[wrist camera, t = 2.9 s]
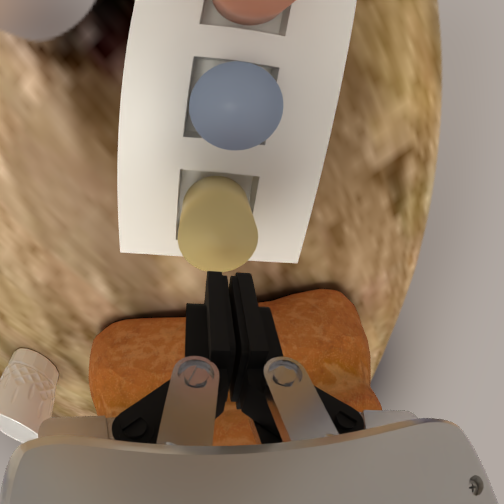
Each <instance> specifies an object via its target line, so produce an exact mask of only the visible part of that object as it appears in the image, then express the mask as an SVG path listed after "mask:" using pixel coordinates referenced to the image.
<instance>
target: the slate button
mask: <svg viewBox="0 0 504 504" xmlns="http://www.w3.org/2000/svg"><path fill="white" fill-rule="evenodd" d="M189 113H190V118H191V121H192V124H193V126H194V127H195V129H196V131H197V132H198V133H199V135H200V136H201V137H202V138H203V139H205V140H206V141H207V142H209V143H210V144H212V145H214V146H216V147H218V148H222V149H226V150H245V149H249V148H252V147H255V146H257V145H259V144H261V143H262V142H264V141H265V140H266V139H268V138H269V137H270V136H271V135H272V134H273V132H274V131H275V130H276V128H277V127H278V125H279V123H280V120H281V118H282V114H283V96H282V93H281V90H280V87H279V85H278V84H277V82H276V80H275V79H274V78H273V77H272V76H271V75H270V74H269V73H268V72H267V71H266V70H264V69H263V68H261V67H259V66H257V65H255V64H252V63H248V62H241V61H232V62H226V63H222V64H219V65H217V66H215V67H213V68H211V69H210V70H208V71H207V72H206V73H204V74H203V75H202V76H201V77H200V79H199V80H198V81H197V83H196V84H195V86H194V88H193V90H192V93H191V95H190V100H189Z"/></svg>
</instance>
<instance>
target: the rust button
mask: <svg viewBox="0 0 504 504" xmlns="http://www.w3.org/2000/svg"><path fill="white" fill-rule="evenodd" d="M212 1H213V4H214V6H215V8H216V10H217V11H218V12H219V13H220V14H221V15H222V16H223V17H224V18H226V19H228V20H229V21H231V22H234V23H237V24H241V25H259V24H263V23H266V22H268V21H270V20H272V19H274V18H275V17H276V16H277V15H278V14H280V13H281V12H282V11H283V10H285V9H286V8H287V7H288V6H290V5H291V4H292V3H293V2H295V1H296V0H212Z"/></svg>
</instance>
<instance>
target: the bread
mask: <svg viewBox="0 0 504 504" xmlns="http://www.w3.org/2000/svg"><path fill="white" fill-rule="evenodd" d="M258 306H259V307H269V308H270V309H271V313H272V316H273V320H274V323H275V327H276V331H277V334H278V338H279V342H280V345H281V349H282V352H283V356H284V357H289V358H292V359H294V360H297V361H298V362H299V363H301V364H302V365H303V367H304V368H305V370H306V371H307V373H308V375H309V377H310V379H311V381H312V383H313V385H314V386H316V387H317V388H319V389H321V390H323V391H324V392H326V393H328V394H329V395H331V396H333V397H335V398H336V399H338V400H340V401H342V402H344V403H345V404H347V405H349V406H351V407H353V408H354V409H355V410H357V411H358V412H362V411H363V410H382V407H381V405H380V402H379V401H378V398H377V397H376V395H375V394H374V392H373V391H372V389H371V388H370V351H369V346H368V340H367V337H366V335H365V332H364V330H363V327H362V325H361V321H360V318H359V315H358V313H357V310H356V308H355V306H354V304H353V303H352V302H351V301H349V300H348V299H347V298H346V297H345V296H344V295H343V294H342V293H341V292H339V291H335V290H331V289H317V290H312V291H307V292H301V293H296V294H291V295H288V296H285V297H282V298H279V299H276V300H273V301H268V302H260V303H258ZM185 329H186V317H173V318H139V319H126V320H122V321H119V322H115V323H112V324H111V325H109V326H108V327H107V328H105V329H104V330H103V331H102V332H101V333H99V334H98V335H97V336H96V338H95V339H94V341H93V344H92V349H91V354H90V363H89V385H90V391H91V396H92V399H93V402H94V405H95V408H96V411H97V415H98V416H104V415H105V416H106V418H112V417H117V416H118V415H119V414H120V413H121V412H123V411H124V410H126V409H127V408H129V407H130V406H132V405H133V404H135V403H136V402H138V401H139V400H141V399H142V398H144V397H145V396H147V395H148V394H149V393H151V392H152V391H154V390H155V389H157V388H158V387H160V386H161V385H162V384H164V383H165V382H167V381H168V380H170V379H171V375H172V371H173V368H174V366H175V364H176V363H177V362H178V361H179V360H181V359H183V358H185ZM239 445H257V444H256V441H255V438H254V435H253V432H252V430H251V427H250V424H249V417H248V416H247V415H246V414H244V413H243V412H242V411H241V409H237V408H236V402H231V400H230V393H229V392H228V398H227V402H225V407H224V412H223V413H222V414H221V415H220V416H218V417H217V418H216V419H215V424H214V434H213V444H212V446H239Z"/></svg>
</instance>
